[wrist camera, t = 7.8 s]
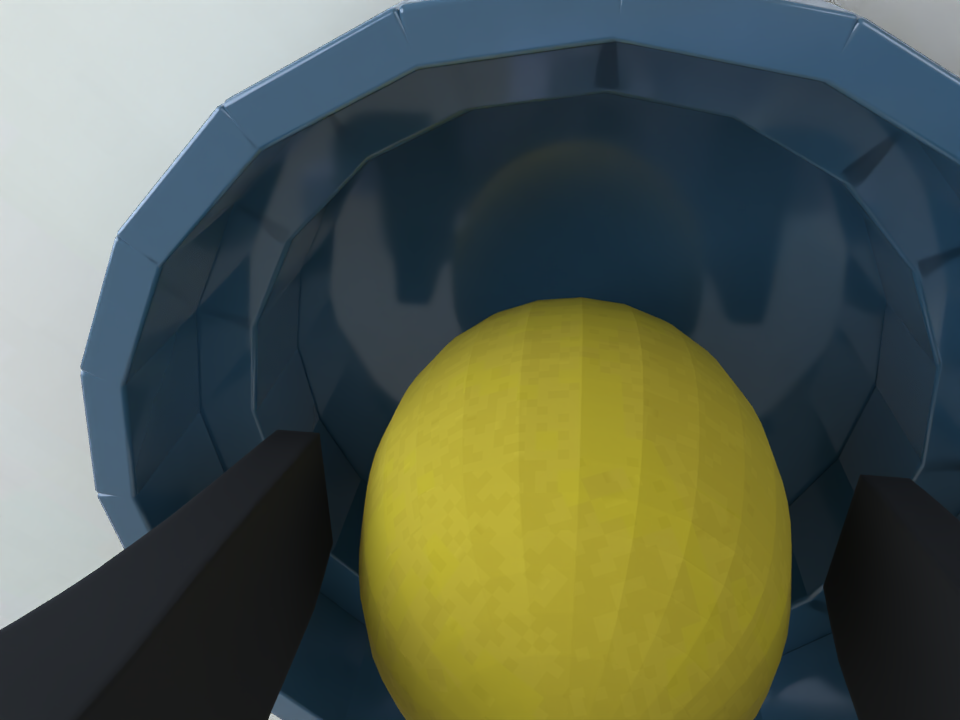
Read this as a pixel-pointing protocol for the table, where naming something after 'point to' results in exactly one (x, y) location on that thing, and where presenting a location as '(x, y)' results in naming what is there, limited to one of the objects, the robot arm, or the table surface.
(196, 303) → the bowl
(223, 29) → the table surface
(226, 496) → the robot arm
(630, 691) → the lemon
